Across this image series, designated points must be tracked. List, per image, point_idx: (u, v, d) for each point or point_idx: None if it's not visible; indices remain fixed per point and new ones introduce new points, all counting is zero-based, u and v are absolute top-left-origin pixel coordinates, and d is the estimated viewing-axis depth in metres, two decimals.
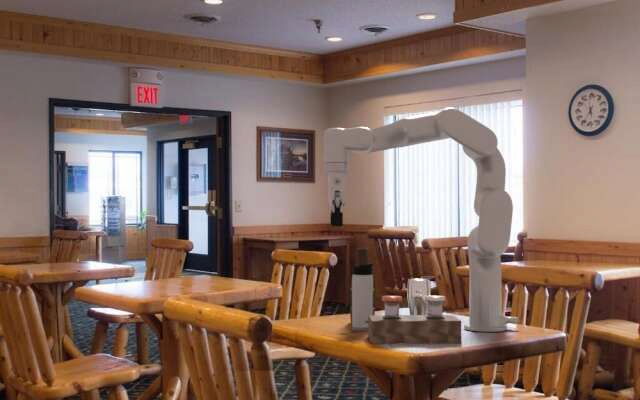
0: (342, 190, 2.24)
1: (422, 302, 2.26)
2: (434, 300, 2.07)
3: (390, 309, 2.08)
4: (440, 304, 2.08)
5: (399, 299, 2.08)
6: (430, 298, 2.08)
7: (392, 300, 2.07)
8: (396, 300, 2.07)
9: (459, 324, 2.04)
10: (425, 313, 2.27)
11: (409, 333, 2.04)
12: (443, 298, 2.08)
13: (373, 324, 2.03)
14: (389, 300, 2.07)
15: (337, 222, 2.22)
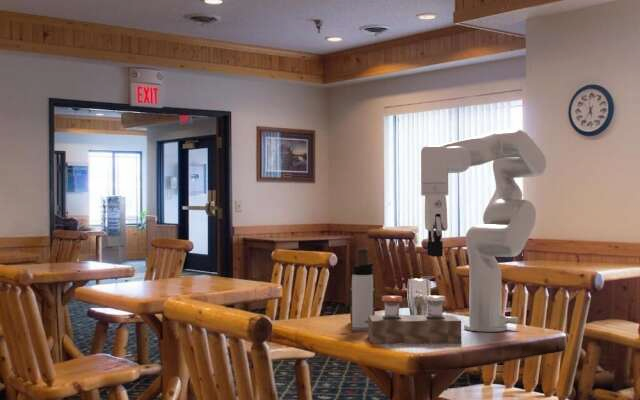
0: (443, 213, 2.06)
1: (422, 302, 2.26)
2: (434, 300, 2.07)
3: (390, 309, 2.08)
4: (440, 304, 2.08)
5: (399, 299, 2.08)
6: (430, 298, 2.08)
7: (392, 300, 2.07)
8: (396, 300, 2.07)
9: (459, 324, 2.04)
10: (425, 313, 2.27)
11: (409, 333, 2.04)
12: (443, 298, 2.08)
13: (373, 324, 2.03)
14: (389, 300, 2.07)
15: (437, 252, 2.07)
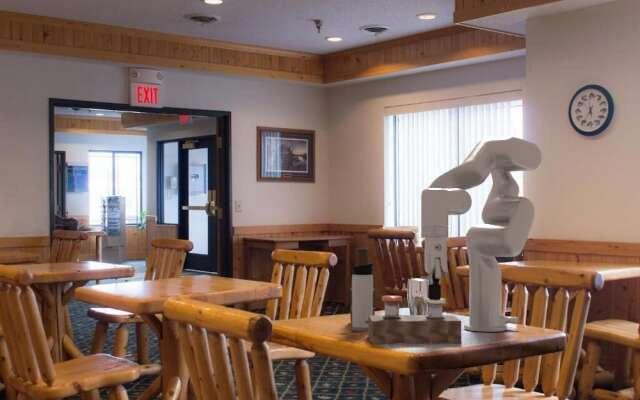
0: (443, 257, 2.05)
1: (422, 302, 2.26)
2: (434, 303, 2.07)
3: (390, 309, 2.08)
4: (440, 306, 2.08)
5: (399, 299, 2.08)
6: (430, 301, 2.08)
7: (392, 300, 2.07)
8: (396, 300, 2.07)
9: (459, 324, 2.04)
10: (425, 313, 2.27)
11: (409, 333, 2.04)
12: (443, 301, 2.08)
13: (373, 324, 2.03)
14: (389, 300, 2.07)
15: (435, 295, 2.08)
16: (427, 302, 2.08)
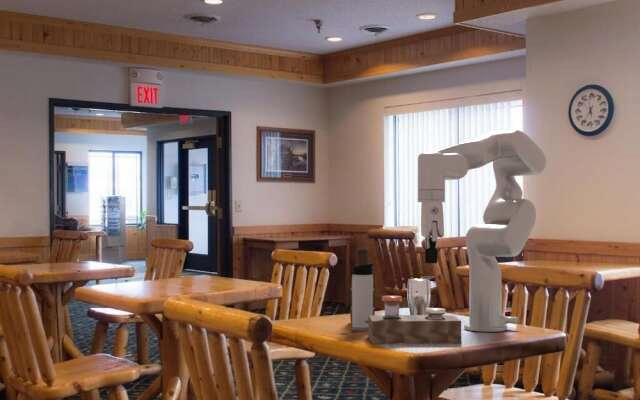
0: (440, 220, 2.05)
1: (422, 302, 2.26)
2: (434, 313, 2.07)
3: (390, 309, 2.08)
4: (440, 316, 2.08)
5: (399, 299, 2.08)
6: (430, 311, 2.08)
7: (392, 300, 2.07)
8: (396, 300, 2.07)
9: (459, 324, 2.04)
10: None
11: (409, 333, 2.04)
12: (443, 311, 2.08)
13: (373, 324, 2.03)
14: (389, 300, 2.07)
15: (432, 259, 2.09)
16: (427, 312, 2.08)
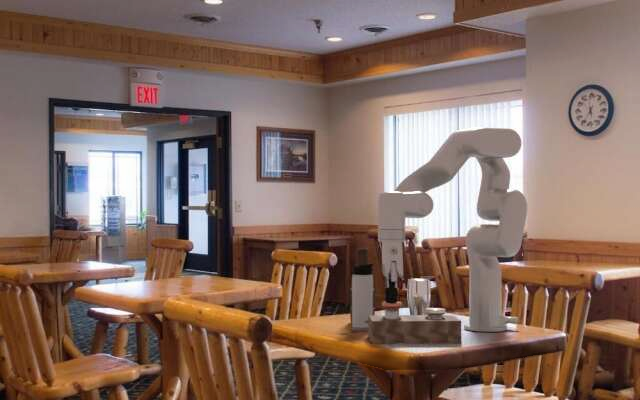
0: (399, 260, 2.05)
1: (422, 302, 2.26)
2: (434, 313, 2.07)
3: (390, 315, 2.08)
4: (440, 316, 2.08)
5: (399, 305, 2.08)
6: (430, 311, 2.08)
7: (392, 306, 2.07)
8: (396, 306, 2.07)
9: (459, 324, 2.04)
10: None
11: (409, 333, 2.04)
12: (443, 311, 2.08)
13: (373, 324, 2.03)
14: (389, 306, 2.07)
15: (391, 298, 2.08)
16: (427, 312, 2.08)
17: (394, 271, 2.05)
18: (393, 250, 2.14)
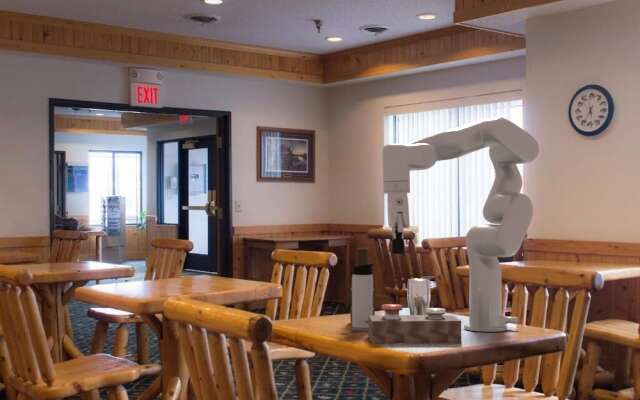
0: (405, 211, 2.08)
1: (422, 302, 2.26)
2: (434, 313, 2.07)
3: (390, 318, 2.08)
4: (440, 316, 2.08)
5: (399, 308, 2.08)
6: (430, 311, 2.08)
7: (392, 309, 2.07)
8: (396, 309, 2.07)
9: (459, 324, 2.04)
10: None
11: (409, 333, 2.04)
12: (443, 311, 2.08)
13: (373, 324, 2.03)
14: (389, 309, 2.07)
15: (399, 249, 2.11)
16: (427, 312, 2.08)
17: (400, 222, 2.08)
18: (398, 202, 2.17)
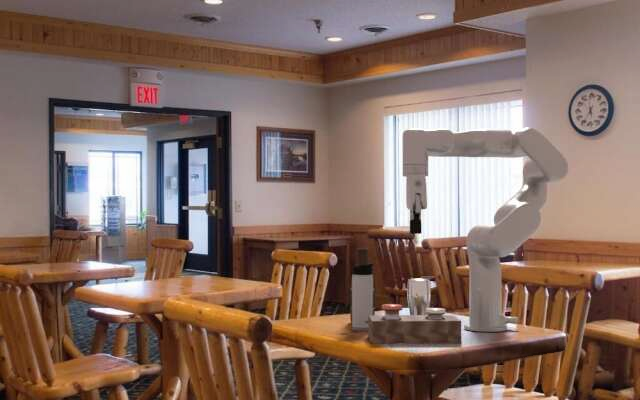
0: (423, 193, 2.18)
1: (422, 302, 2.26)
2: (434, 313, 2.07)
3: (390, 318, 2.08)
4: (440, 316, 2.08)
5: (399, 308, 2.08)
6: (430, 311, 2.08)
7: (392, 309, 2.07)
8: (396, 309, 2.07)
9: (459, 324, 2.04)
10: None
11: (409, 333, 2.04)
12: (443, 311, 2.08)
13: (373, 324, 2.03)
14: (389, 309, 2.07)
15: (416, 229, 2.21)
16: (427, 312, 2.08)
17: (418, 203, 2.18)
18: None
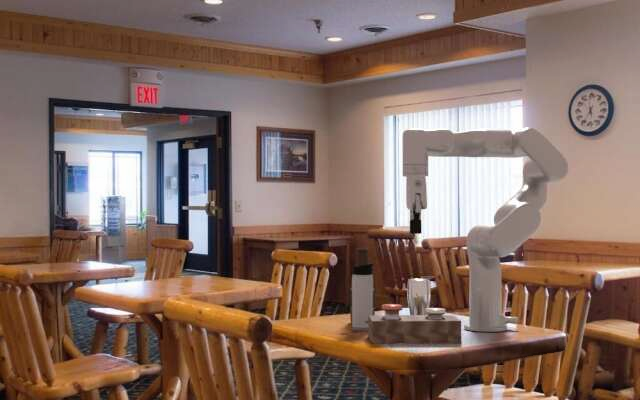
0: (423, 193, 2.18)
1: (422, 302, 2.26)
2: (434, 313, 2.07)
3: (390, 318, 2.08)
4: (440, 316, 2.08)
5: (399, 308, 2.08)
6: (430, 311, 2.08)
7: (392, 309, 2.07)
8: (396, 309, 2.07)
9: (459, 324, 2.04)
10: None
11: (409, 333, 2.04)
12: (443, 311, 2.08)
13: (373, 324, 2.03)
14: (389, 309, 2.07)
15: (416, 229, 2.21)
16: (427, 312, 2.08)
17: (418, 203, 2.18)
18: None
